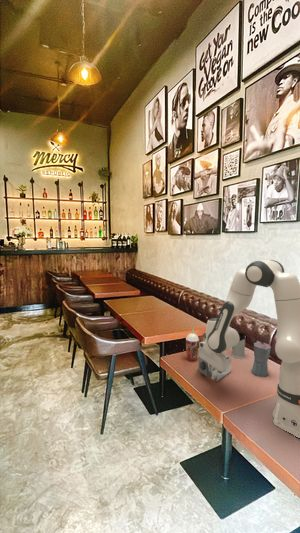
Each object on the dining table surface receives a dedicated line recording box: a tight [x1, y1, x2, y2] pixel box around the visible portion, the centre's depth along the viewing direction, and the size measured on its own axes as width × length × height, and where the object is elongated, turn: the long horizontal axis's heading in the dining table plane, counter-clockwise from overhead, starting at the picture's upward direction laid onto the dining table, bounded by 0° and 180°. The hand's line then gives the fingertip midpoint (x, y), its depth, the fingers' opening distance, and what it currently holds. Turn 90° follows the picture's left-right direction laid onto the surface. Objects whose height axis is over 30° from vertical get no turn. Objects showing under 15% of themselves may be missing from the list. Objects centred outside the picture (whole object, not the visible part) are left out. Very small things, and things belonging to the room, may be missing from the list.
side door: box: [211, 357, 232, 382], centre depth 152 cm, size 2×21×8 cm, turn 138°
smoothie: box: [185, 328, 200, 362], centre depth 175 cm, size 8×8×20 cm
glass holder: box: [230, 331, 246, 360], centre depth 185 cm, size 9×14×15 cm, turn 29°
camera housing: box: [197, 352, 231, 377], centre depth 161 cm, size 8×17×10 cm, turn 114°
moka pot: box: [251, 339, 272, 378], centre depth 159 cm, size 10×15×20 cm, turn 11°
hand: (211, 372), depth 149 cm, fingers closed
